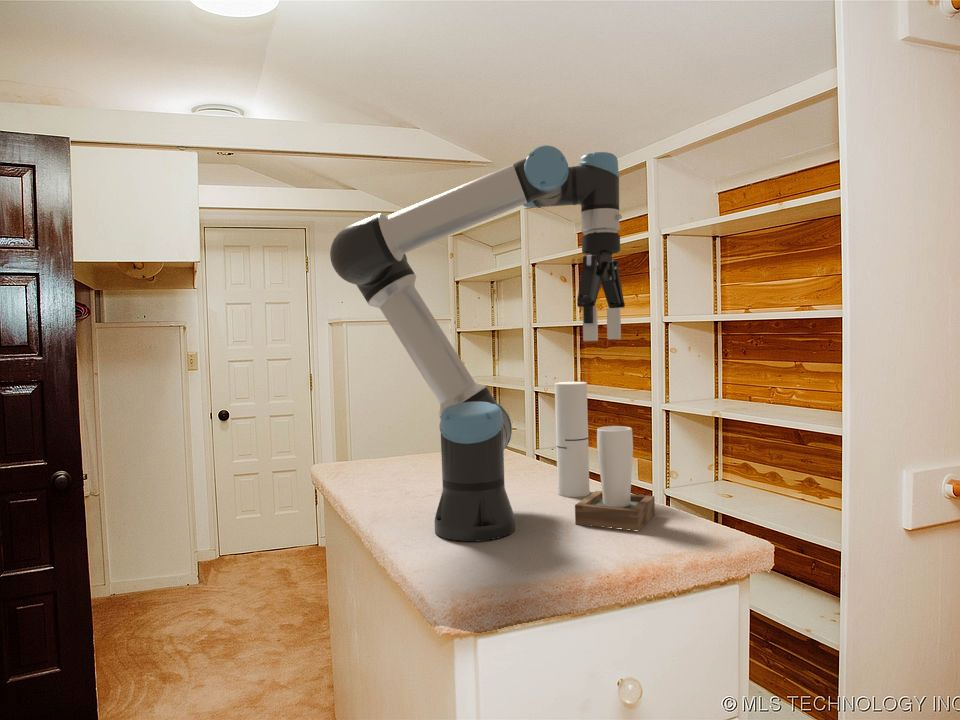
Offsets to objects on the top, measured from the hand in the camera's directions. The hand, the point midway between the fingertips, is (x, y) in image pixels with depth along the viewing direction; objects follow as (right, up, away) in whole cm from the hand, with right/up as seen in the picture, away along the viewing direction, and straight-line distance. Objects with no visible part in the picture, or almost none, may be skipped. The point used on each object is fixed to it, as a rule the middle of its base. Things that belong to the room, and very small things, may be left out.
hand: (602, 340), depth 133 cm
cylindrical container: (-3, -34, +17) cm, 38 cm away
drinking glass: (+2, -32, -5) cm, 33 cm away
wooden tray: (+2, -35, -5) cm, 35 cm away
